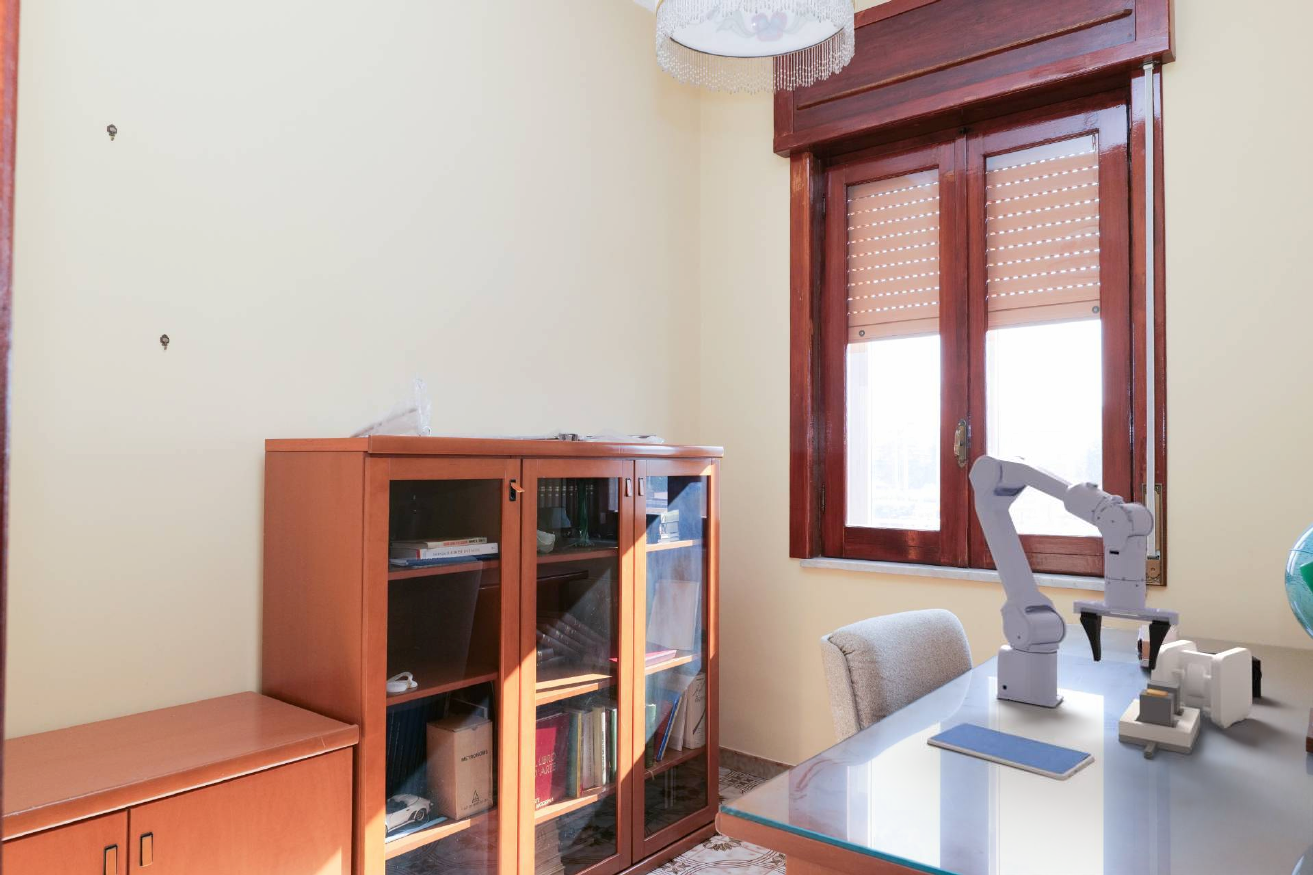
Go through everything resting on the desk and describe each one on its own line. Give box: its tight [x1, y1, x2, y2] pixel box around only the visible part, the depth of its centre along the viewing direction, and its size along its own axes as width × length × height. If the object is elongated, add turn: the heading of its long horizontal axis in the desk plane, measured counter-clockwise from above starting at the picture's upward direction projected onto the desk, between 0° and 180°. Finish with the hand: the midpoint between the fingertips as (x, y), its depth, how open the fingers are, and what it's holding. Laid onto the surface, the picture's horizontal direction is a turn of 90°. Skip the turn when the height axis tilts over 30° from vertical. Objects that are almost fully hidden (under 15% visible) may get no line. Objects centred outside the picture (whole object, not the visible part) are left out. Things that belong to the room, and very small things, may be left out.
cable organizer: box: [1150, 639, 1253, 729], centre depth 137 cm, size 15×11×12 cm
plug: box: [1138, 688, 1174, 728], centre depth 123 cm, size 4×4×6 cm
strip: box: [1118, 679, 1201, 760], centre depth 124 cm, size 22×9×7 cm, turn 142°
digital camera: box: [1199, 651, 1263, 699], centre depth 153 cm, size 10×5×7 cm, turn 73°
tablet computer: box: [926, 722, 1095, 781], centre depth 117 cm, size 19×13×1 cm, turn 44°
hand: (1124, 664), depth 131 cm, fingers open, 7 cm apart
